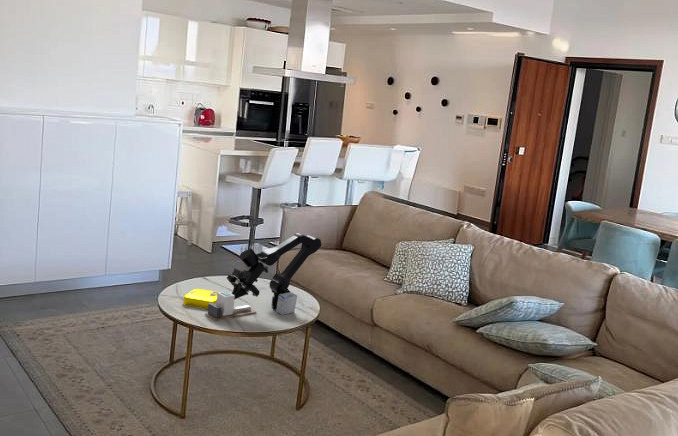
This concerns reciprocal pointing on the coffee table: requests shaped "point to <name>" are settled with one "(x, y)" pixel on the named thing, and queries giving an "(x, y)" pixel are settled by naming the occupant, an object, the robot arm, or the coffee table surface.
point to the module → (225, 302)
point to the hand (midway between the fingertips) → (230, 300)
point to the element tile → (200, 298)
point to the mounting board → (232, 315)
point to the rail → (217, 312)
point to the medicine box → (286, 303)
